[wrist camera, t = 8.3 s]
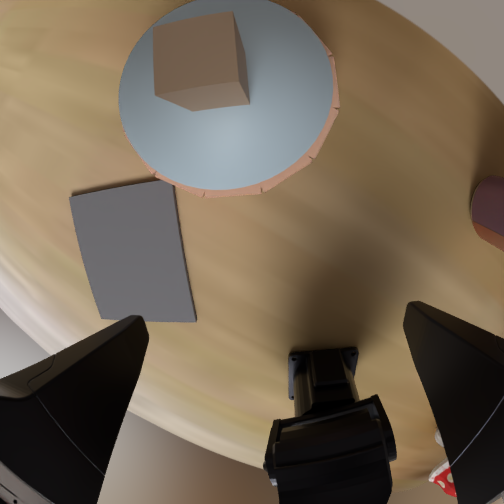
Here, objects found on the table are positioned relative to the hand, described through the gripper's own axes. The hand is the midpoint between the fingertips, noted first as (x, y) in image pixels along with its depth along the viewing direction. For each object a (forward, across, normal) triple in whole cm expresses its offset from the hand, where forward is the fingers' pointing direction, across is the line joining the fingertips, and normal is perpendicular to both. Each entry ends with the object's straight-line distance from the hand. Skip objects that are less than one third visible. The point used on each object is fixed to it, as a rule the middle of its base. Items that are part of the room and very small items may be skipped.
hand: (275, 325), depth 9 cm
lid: (+8, +2, -9) cm, 12 cm away
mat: (+12, +12, +2) cm, 17 cm away
